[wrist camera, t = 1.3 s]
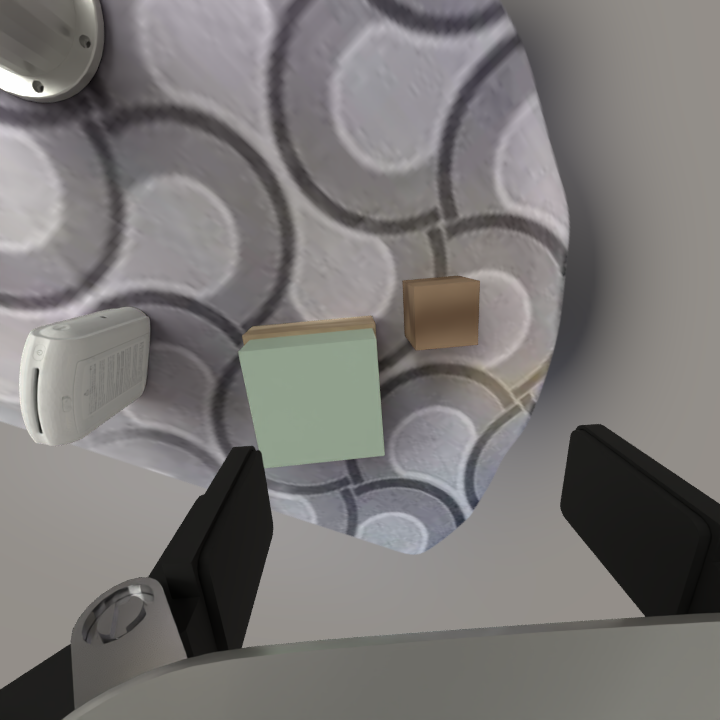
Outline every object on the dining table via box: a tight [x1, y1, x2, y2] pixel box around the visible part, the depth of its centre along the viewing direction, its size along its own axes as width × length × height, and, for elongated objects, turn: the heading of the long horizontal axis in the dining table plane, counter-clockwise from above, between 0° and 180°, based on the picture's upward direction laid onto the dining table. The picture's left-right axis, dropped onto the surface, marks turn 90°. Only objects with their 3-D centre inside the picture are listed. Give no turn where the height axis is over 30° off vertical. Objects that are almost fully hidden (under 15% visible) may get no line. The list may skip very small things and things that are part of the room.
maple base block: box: [242, 316, 377, 345], centre depth 37 cm, size 13×13×4 cm
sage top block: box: [238, 328, 385, 468], centre depth 33 cm, size 12×12×4 cm
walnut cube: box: [403, 276, 480, 350], centre depth 34 cm, size 6×6×6 cm
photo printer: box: [19, 307, 150, 446], centre depth 31 cm, size 10×4×12 cm, turn 165°
